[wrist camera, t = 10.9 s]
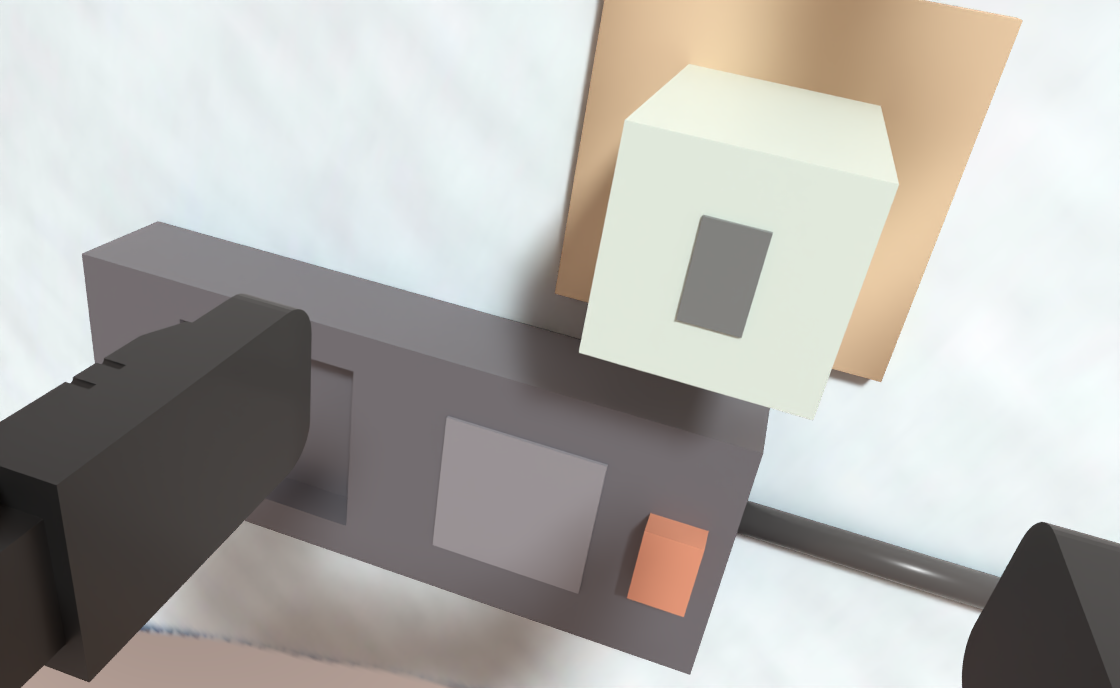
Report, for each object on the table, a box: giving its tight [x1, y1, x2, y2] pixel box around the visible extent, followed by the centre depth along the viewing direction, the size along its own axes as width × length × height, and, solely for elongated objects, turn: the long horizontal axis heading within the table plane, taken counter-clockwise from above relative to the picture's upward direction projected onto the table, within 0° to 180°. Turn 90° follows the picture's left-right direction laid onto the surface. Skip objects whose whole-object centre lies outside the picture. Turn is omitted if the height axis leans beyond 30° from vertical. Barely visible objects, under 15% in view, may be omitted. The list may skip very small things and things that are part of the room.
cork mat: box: [555, 0, 1023, 382], centre depth 21 cm, size 9×9×1 cm
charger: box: [579, 64, 899, 420], centre depth 18 cm, size 4×4×7 cm
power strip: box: [82, 222, 1000, 675], centre depth 25 cm, size 30×8×4 cm, turn 81°
